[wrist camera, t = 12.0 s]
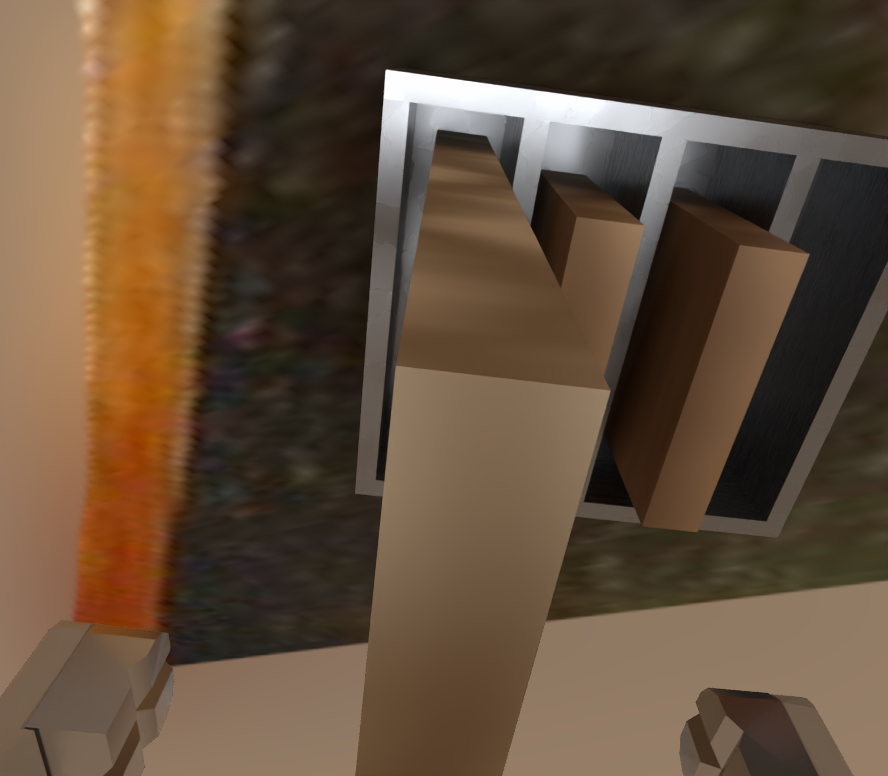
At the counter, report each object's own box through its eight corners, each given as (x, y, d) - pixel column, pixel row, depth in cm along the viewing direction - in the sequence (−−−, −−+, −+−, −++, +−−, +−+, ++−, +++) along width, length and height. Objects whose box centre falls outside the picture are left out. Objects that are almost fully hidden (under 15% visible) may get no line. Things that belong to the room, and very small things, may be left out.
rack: (835, 127, 26) (964, 150, 20) (713, 443, 34) (777, 537, 27) (402, 67, 25) (385, 69, 19) (374, 406, 33) (355, 493, 26)
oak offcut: (584, 174, 26) (645, 225, 18) (538, 386, 31) (569, 501, 23) (537, 168, 26) (576, 216, 18) (498, 381, 30) (515, 495, 22)
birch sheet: (486, 135, 25) (610, 390, 6) (448, 394, 31) (447, 969, 11) (437, 129, 25) (395, 366, 6) (408, 390, 31) (336, 961, 11)
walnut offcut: (687, 188, 26) (809, 254, 17) (626, 396, 31) (697, 532, 22) (641, 182, 26) (739, 245, 17) (586, 392, 31) (642, 526, 22)
